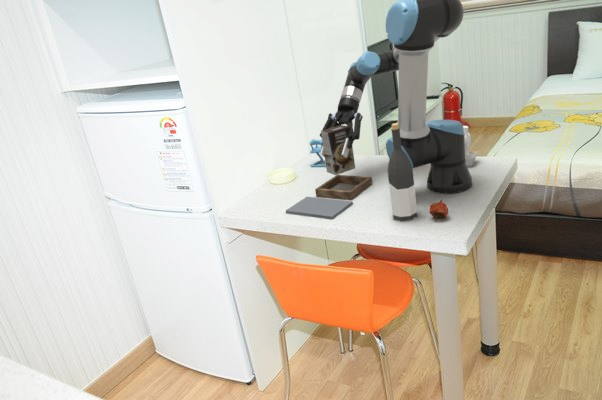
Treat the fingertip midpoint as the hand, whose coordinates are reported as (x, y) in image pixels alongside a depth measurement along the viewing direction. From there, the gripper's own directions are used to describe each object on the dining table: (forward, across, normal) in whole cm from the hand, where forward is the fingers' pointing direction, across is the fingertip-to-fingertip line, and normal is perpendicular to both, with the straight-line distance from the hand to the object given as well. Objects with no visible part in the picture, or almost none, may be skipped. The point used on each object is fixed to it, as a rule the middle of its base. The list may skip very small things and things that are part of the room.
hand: (333, 155), depth 185 cm
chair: (-10, +27, -31) cm, 42 cm away
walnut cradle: (+8, 0, -12) cm, 15 cm away
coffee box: (+3, 0, -7) cm, 8 cm away
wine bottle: (+19, -32, -2) cm, 38 cm away
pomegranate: (+19, -44, -3) cm, 48 cm away
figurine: (-15, -35, -37) cm, 53 cm away
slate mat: (+20, 0, 0) cm, 21 cm away
